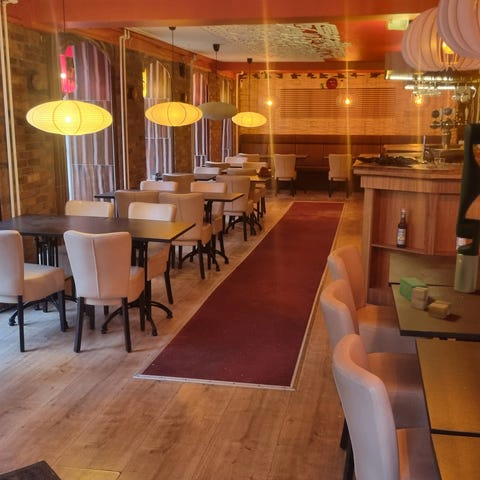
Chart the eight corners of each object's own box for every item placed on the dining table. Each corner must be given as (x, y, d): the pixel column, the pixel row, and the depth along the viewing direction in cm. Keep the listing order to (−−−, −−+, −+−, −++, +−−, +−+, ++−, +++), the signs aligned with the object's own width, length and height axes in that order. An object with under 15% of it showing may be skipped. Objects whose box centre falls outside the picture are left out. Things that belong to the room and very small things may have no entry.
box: (411, 302, 261) (412, 285, 259) (398, 293, 274) (399, 277, 272) (427, 301, 262) (428, 285, 260) (413, 293, 275) (415, 277, 273)
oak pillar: (436, 300, 249) (428, 305, 242) (451, 302, 246) (443, 308, 239) (435, 310, 250) (428, 316, 243) (450, 313, 247) (442, 319, 240)
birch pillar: (415, 304, 257) (417, 286, 256) (427, 307, 254) (428, 288, 253) (410, 307, 254) (412, 289, 252) (422, 310, 250) (423, 291, 249)
